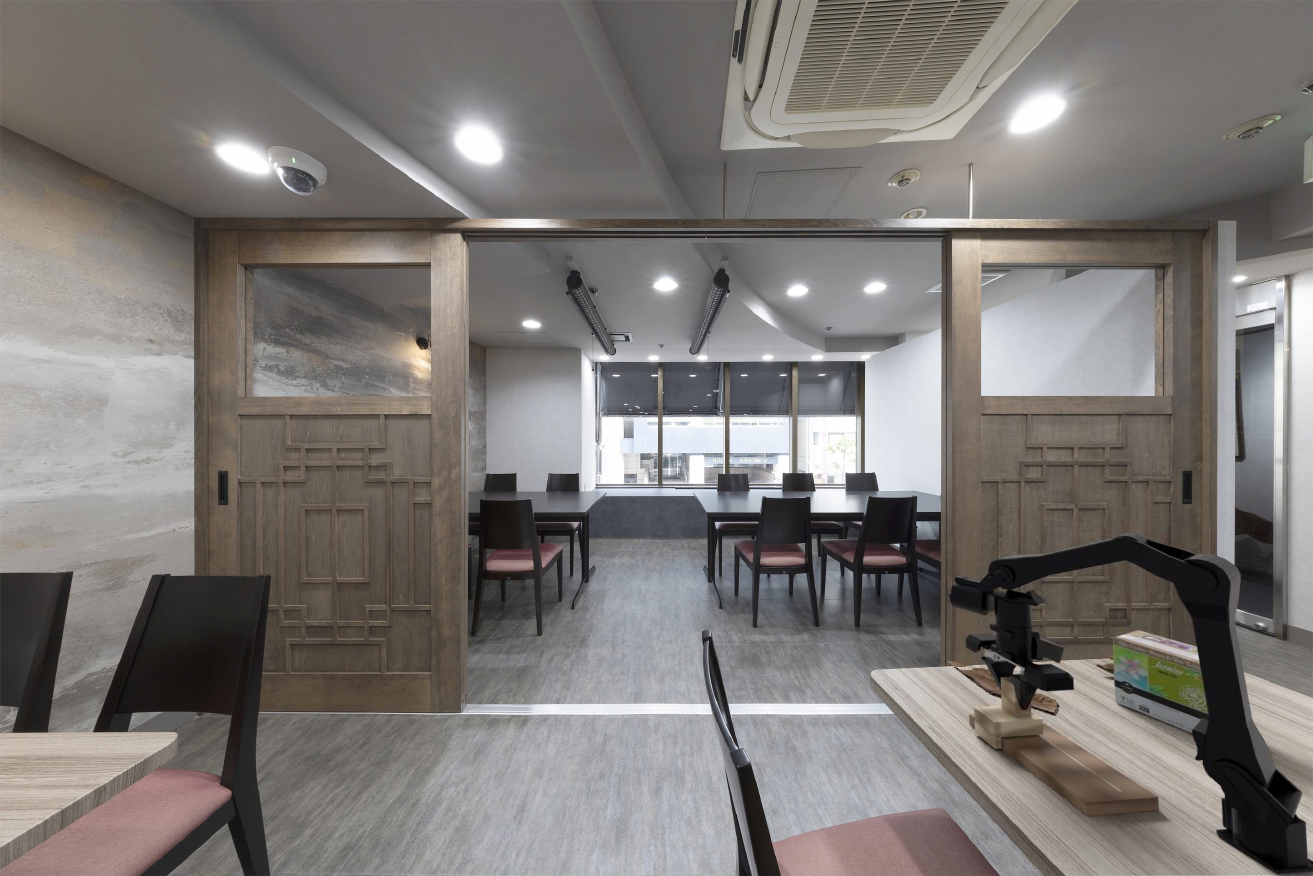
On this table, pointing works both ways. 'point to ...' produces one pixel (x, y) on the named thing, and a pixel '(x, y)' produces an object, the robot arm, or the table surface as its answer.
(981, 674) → the wooden fragment
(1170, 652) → the tea box
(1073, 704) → the table surface
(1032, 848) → the table surface
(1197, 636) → the robot arm
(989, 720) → the block
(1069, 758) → the walnut board
